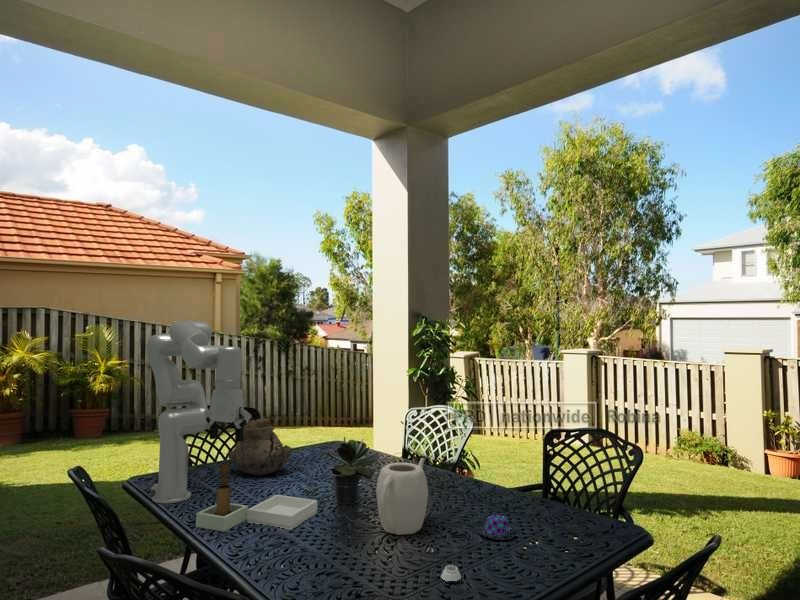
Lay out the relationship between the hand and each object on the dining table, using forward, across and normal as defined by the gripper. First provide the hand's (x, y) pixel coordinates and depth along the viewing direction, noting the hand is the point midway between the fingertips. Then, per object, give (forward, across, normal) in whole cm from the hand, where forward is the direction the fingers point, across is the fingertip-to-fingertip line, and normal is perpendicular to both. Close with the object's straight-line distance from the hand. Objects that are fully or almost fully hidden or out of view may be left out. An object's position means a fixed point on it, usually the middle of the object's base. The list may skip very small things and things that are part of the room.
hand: (226, 439), depth 159 cm
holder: (+26, -1, 0) cm, 26 cm away
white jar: (+27, +75, -9) cm, 81 cm away
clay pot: (+25, -24, +52) cm, 63 cm away
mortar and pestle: (+26, -1, 0) cm, 26 cm away
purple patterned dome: (+27, +81, +24) cm, 89 cm away
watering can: (+26, +53, +18) cm, 62 cm away
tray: (+26, +14, +11) cm, 32 cm away
